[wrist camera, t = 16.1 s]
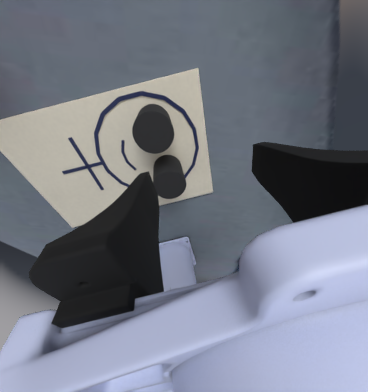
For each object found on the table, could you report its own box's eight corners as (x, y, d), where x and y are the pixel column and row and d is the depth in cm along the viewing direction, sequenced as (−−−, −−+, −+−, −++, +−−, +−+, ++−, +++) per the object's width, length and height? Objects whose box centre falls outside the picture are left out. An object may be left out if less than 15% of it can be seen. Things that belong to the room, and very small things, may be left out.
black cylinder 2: (184, 176, 22) (189, 194, 19) (158, 182, 22) (158, 202, 19) (177, 151, 20) (182, 167, 16) (149, 158, 20) (148, 176, 17)
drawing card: (212, 191, 25) (213, 192, 24) (73, 226, 25) (72, 228, 25) (197, 68, 16) (198, 67, 15) (-21, 125, 16) (-25, 126, 16)
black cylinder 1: (174, 135, 19) (178, 148, 15) (143, 142, 19) (141, 158, 15) (165, 99, 17) (168, 106, 13) (131, 108, 17) (125, 117, 13)
